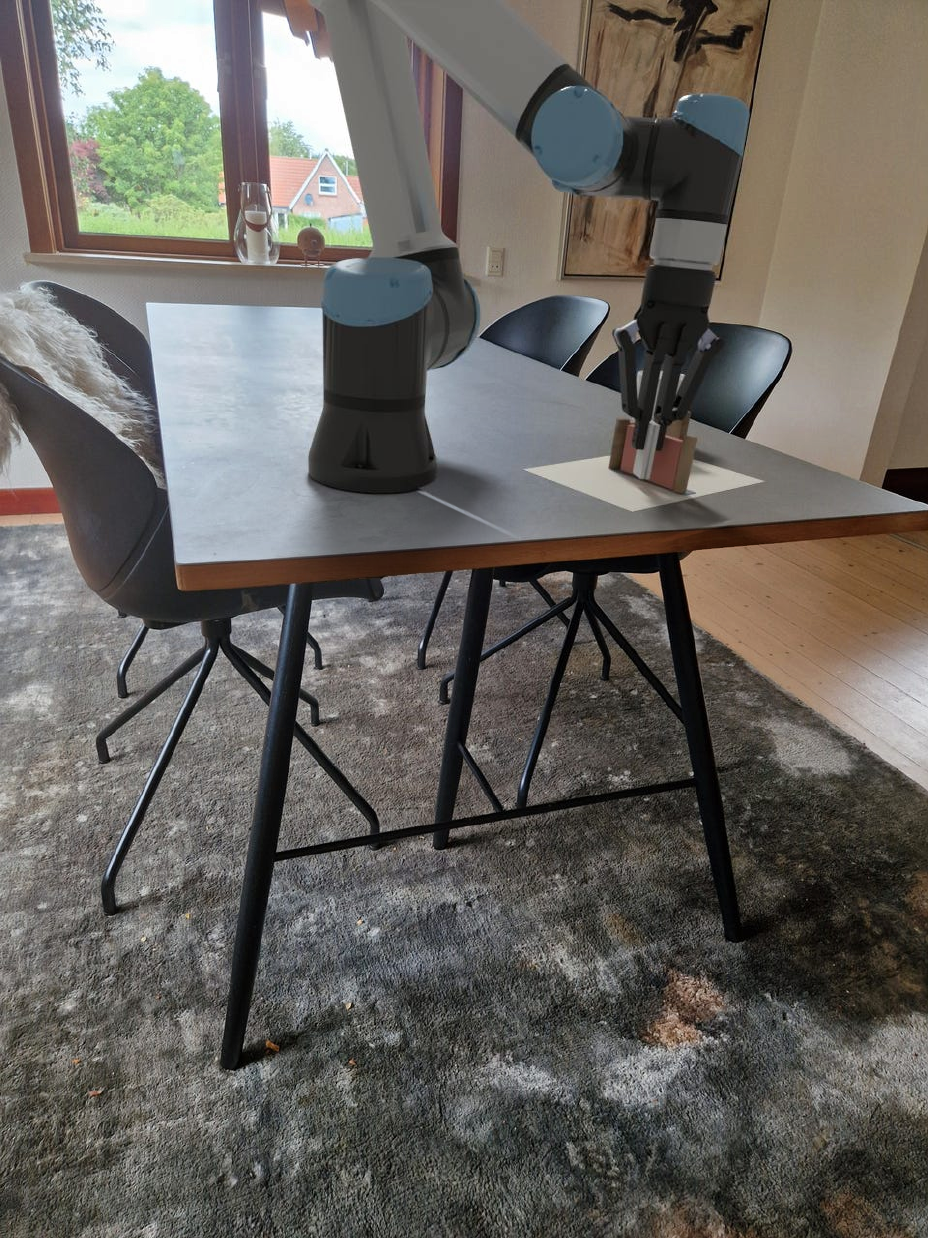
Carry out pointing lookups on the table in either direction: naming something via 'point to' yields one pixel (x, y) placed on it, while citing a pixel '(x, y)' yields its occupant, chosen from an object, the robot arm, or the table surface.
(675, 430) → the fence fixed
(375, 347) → the robot arm
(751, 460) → the table surface
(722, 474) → the board
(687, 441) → the fence gate
